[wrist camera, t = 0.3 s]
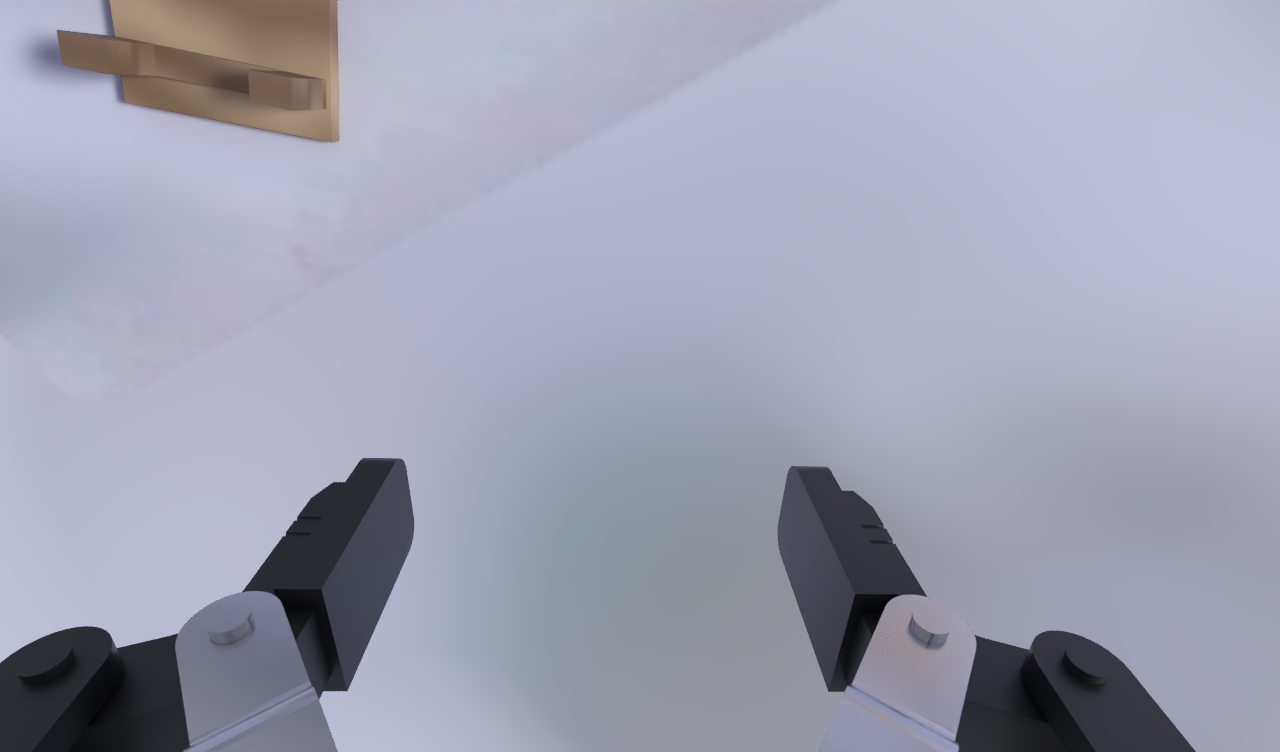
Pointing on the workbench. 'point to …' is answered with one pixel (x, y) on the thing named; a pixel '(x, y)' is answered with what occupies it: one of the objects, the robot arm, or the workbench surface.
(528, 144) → the workbench surface
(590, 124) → the workbench surface
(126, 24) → the u rest
